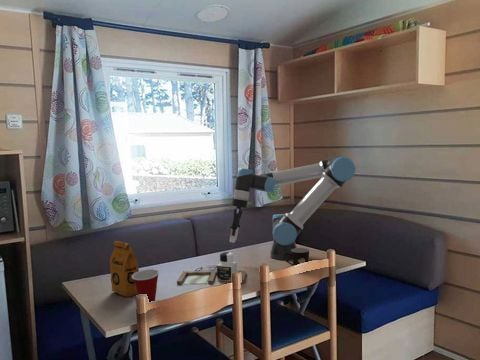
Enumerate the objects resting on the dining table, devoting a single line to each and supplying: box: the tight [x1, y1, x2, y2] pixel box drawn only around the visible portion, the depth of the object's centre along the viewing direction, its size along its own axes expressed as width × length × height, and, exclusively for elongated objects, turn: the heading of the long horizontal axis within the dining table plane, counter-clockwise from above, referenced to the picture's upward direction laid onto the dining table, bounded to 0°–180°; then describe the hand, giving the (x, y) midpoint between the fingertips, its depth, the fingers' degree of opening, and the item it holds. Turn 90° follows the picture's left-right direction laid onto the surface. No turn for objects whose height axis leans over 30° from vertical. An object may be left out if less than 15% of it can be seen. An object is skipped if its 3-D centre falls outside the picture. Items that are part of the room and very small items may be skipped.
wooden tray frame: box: [176, 269, 246, 286], centre depth 192 cm, size 30×14×2 cm, turn 87°
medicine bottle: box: [216, 251, 238, 282], centre depth 191 cm, size 7×7×12 cm
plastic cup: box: [132, 268, 160, 302], centre depth 166 cm, size 11×11×12 cm
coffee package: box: [109, 240, 140, 298], centre depth 177 cm, size 10×12×22 cm
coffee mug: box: [283, 247, 310, 266], centre depth 199 cm, size 12×9×10 cm
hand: (232, 241), depth 208 cm, fingers open, 13 cm apart
